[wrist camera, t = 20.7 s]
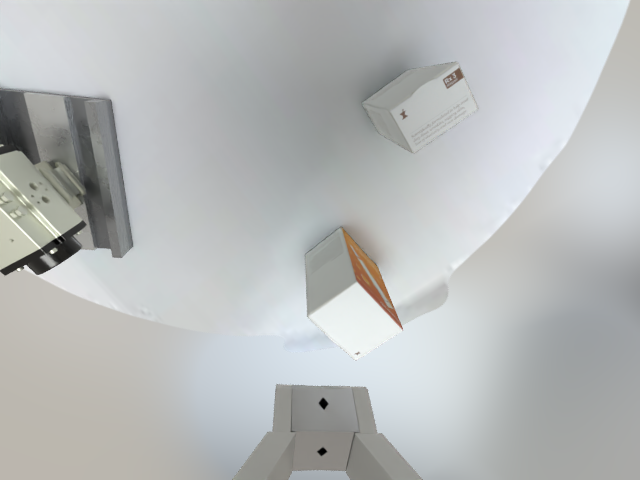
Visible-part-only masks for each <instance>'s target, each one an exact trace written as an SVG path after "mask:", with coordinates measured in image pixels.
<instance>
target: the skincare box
mask: <svg viewBox="0 0 640 480" xmlns="http://www.w3.org/2000/svg"><path fill="white" fill-rule="evenodd" d="M362 105H363V107H364V109H365V110H366V112H367V114H368V116H369V117H370V119H371V121H372V122H373V124H374V126H375V128H376V129H377V131H378V132H379V134H380V135H382V136H384V137H385V138H387V139H389V140H391V141H392V142H394V143H396V144H397V145H399V146H401V147H402V148H404V149H406V150H408V151H409V152H411V153H416V152H417V151H419V150H420V149H422V148H423V147H424V146H426V145H427V144H429V143H430V142H432V141H433V140H435V139H436V138H437V137H439V136H440V135H442V134H443V133H445V132H446V131H448V130H449V129H451V128H452V127H453V126H455V125H456V124H458V123H459V122H461V121H462V120H464V119H465V118H467V117H468V116H469V115H471V114H472V113H474V112H475V111H477V110H478V106H477V104H476V102H475V99H474V97H473V95H472V93H471V91H470V89H469V86H468V84H467V82H466V79H465V77H464V75H463V73H462V70H461V68H460V66H459V63H458V62H451V63H445V64H439V65H433V66H427V67H421V68H415V69H409V70H407V71H405V72H404V73H403V74H401V75H400V76H398V77H397V78H396V79H394V80H393V81H392V82H390V83H389V84H387V85H386V86H385V87H383V88H382V89H380V90H379V91H378V92H376V93H375V94H374V95H372V96H371V97H369V98H368V99H367V100H365V101H364V102H363V103H362Z"/></svg>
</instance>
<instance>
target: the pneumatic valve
mask: <svg viewBox="0 0 640 480" xmlns="http://www.w3.org/2000/svg"><path fill="white" fill-rule="evenodd" d="M55 166H56V168H55V169H53V168H52V166H51V165H50V164H49V163H48V162H47V161H42V162H40V163H38V164H35V165H33V164H32V163H31V162H30V160H29V159H28V158H27V157H26V156H25V155H24V154H23V153H22V151H21V150H20V149H19V148H18V147H17V146H16V145H12V144H10V145H6V146H4V145H0V272H1V273H3V274H4V275H7V274H9V273H11V272H13V271H15V270H16V271H18V272H19V271H21V270H22V269H24V267H23V266H24V265H27V266H28V267H29V268H30V269H31V270H32V271H33V272H34V273H35V274H36V275H40V274H42V273H44V272H46V271H48V270H50V269H52V268H54V267H55V266H57V265H59V264H60V263H62V262H63V261H65V260H66V259H68V258H69V257H71V256H72V255H74V254H75V253H76V252H78V251H79V250H80V249H81V248H82V245H81V244H80V242H79V241H78V240H77V239H76V238H75V237H74V236H73V235H75V234H76V235H79V234H81V233H82V231H81V230H82V229H83V228H84V227H86V225H87V224H86V223H85V222H84V221H83V220H82V219H81V217H80V216H79V215H78V214H77V213H76V212H75V211H74V210H73V209H75V208H77V207H79V206H80V205H82V204H83V202H82V201H81V200H80V199H79V197H78V196H77V195H78V194H79V195H81V196H83V195H85V194H86V192H85V190H86V189H85V188H84V186H83V185H82V184H81V183H80V182H79V180H78V179H77V178H76V177H75V176H74V175H73V173H72V172H71V171H70V170H69V169H68V168H67V166H66V165H65V164H64V165H63V164H61V163H60V162H56V163H55Z"/></svg>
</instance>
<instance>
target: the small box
mask: <svg viewBox="0 0 640 480" xmlns="http://www.w3.org/2000/svg"><path fill="white" fill-rule="evenodd" d="M305 267H306V294H307V317H308V318H309V319H310V320H311V321H312V322H313V323H314V324H315V325H316V326H317V327H318V328H319V329H320V330H321V331H323V332H324V333H325V334H326V335H327V336H328V337H329V338H330V339H331V340H332V341H333V342H334V343H335V344H336V345H338V346H339V347H340V348H342V349H343V350H344V351H345V352H346V353H347V354H348V355H350V356H351V357H352V358H353V359H354V360H355V361H357V360H358V359H360V358H361V357H363V356H365V355H366V354H368V353H369V352H371V351H372V350H374V349H376V348H377V347H379V346H380V345H382V344H383V343H385V342H386V341H388V340H389V339H391V338H392V337H394V336H395V335H397V334H398V333H400V332H402V331H403V328H402V326H401V323H400V321H399V319H398V316H397V314H396V311H395V309H394V306H393V304H392V301H391V299H390V296H389V294H388V291H387V289H386V287H385V284H384V282H383V279H382V276H381V274H380V271H379V269H378V267H377V265H376V264H375V263H374V262H373V261H372V260H371V259H370V258H369V257H368V256H367V255H366V254H365V253H364V252H363V251H362V250H361V249H360V247H359V246H358V245H357V244H356V243H355V242H354V241H353V239H352V238H351V237H350V236H349V235H348V234H347V233H346V231H345V230H344V229H343V228H342V227H340V228H339V229H338V230H336V231H335V232H334V233H332V234H331V235H330V236H329V237H327V238H326V239H325V240H323V241H322V242H321V243H320V244H318V245H317V246H316V247H314V248H313V249H312V250H311V251H309V252H308V253H307V254H305Z"/></svg>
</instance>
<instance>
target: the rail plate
mask: <svg viewBox="0 0 640 480" xmlns="http://www.w3.org/2000/svg"><path fill="white" fill-rule="evenodd" d="M10 144H12V145H16V146H17V147H18V148H19V149H20V150H21V151H22V153H23V154H24V155H25V156H26V157H27V158H28V159H29V160H30V162H31V163H32V164H33V165H35V164H38V163H40V162H42V161H47V162H48V163H49V164H50V165H51V166H52V168H53V169H55V168H56V166H55V163H56V162H60V163H61V164H63V165H64V164H65V165H66V166H67V168H68V169H69V170H70V171H71V172H72V173H73V175H74V176H75V177H76V178H77V179H78V180H79V182H80V183H81V184H82V185H83V186H84V188H85V189H86V190H85V192H86V194H85V195H83V196H81V195H79V194H78V195H77V196H78V197H79V199H80V200H81V201H82V202H83V204H82V205H80V206H79V207H77V208H75V209H73V210H74V211H75V212H76V213H77V214H78V215H79V216H80V217H81V219H82V220H83V221H84V222H85V223H86V224H87V225H86V227H84V228H83V229H82V230H81V231H82V233H81V234H79V235H76V234H75V235H73V236H74V237H75V238H76V239H77V240H78V241H79V242H80V244H81V245H82V248H81V249H85V250H95V249H97V248H108V249H111V251H112V256H113V257H116V258H122V257H123V256H124V255H125V254H126V253H127V252H128V251H129V250H130V249H131V248H132V247H133V243H132V237H131V230H130V223H129V217H128V210H127V203H126V197H125V190H124V183H123V177H122V170H121V163H120V157H119V150H118V143H117V137H116V130H115V123H114V117H113V110H112V103H111V100H104V99H95V98H85V97H76V96H66V95H57V94H48V93H38V92H29V91H20V90H10V89H1V88H0V145H4V146H6V145H10Z"/></svg>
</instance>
